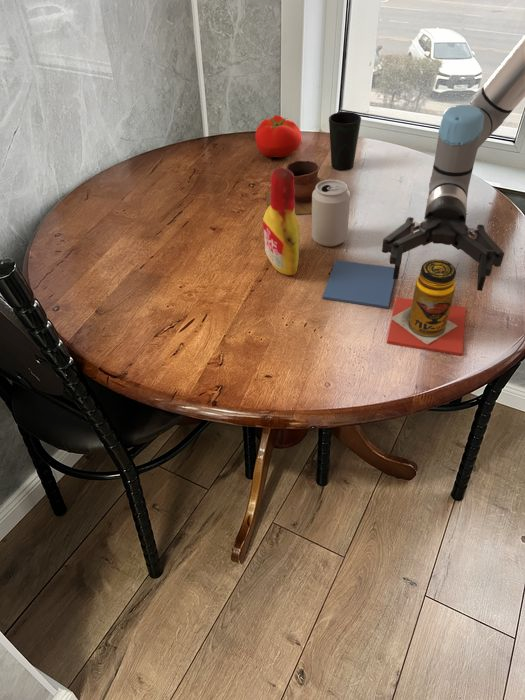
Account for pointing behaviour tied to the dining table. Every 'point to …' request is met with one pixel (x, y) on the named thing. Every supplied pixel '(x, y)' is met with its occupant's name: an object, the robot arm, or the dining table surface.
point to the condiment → (430, 302)
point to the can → (330, 212)
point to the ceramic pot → (302, 185)
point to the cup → (343, 139)
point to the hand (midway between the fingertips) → (437, 278)
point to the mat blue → (360, 284)
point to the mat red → (444, 344)
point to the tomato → (277, 137)
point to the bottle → (282, 224)
